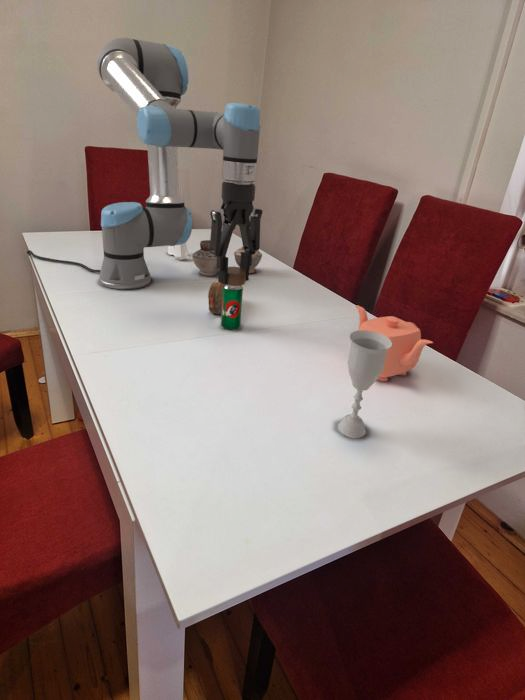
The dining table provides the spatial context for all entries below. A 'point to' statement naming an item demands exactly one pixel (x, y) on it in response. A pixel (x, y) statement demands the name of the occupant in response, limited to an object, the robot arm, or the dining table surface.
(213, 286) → the bread slice
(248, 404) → the dining table surface
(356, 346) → the chalice
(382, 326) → the teapot
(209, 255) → the pottery
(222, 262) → the robot arm
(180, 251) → the shaker set
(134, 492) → the dining table surface
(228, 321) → the soda can
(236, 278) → the brown short cylinder
